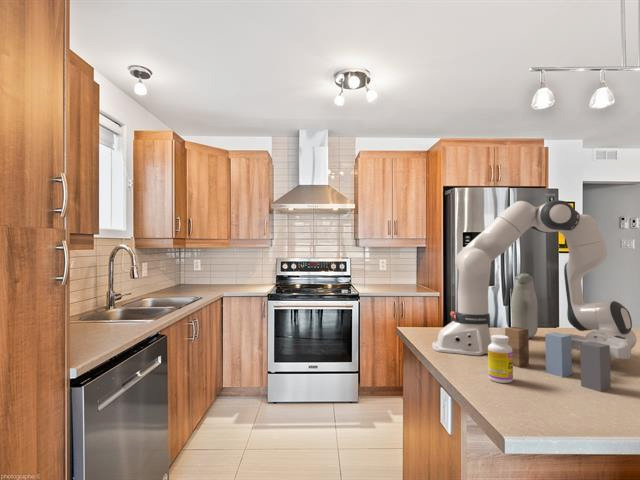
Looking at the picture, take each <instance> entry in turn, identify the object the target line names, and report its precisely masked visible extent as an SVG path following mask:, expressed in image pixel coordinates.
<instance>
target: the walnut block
mask: <svg viewBox="0 0 640 480" xmlns="http://www.w3.org/2000/svg"><path fill="white" fill-rule="evenodd" d="M504 336H507V337H509V341H508V345H509V346H511V347H512V352H513V367H515V368H518V369H519V368H524V367H528V366H530V347H529V345H530V343H529V342H530V341H529V340H530V338H529V336H528V329H524V328H519V327H512V326H511V327H509V326H508V327H505V328H504Z"/></svg>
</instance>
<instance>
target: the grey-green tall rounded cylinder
mask: <svg viewBox="0 0 640 480" xmlns="http://www.w3.org/2000/svg"><path fill="white" fill-rule="evenodd" d="M513 282H514V283H513V289H512V293H511V299H510V311H511V312H510V315H511V317H510V318H511V327H519V328H524V329H528V336H529V339H530V338H533V337H534V336H536V334H537V332H538V329H539V328H538V326H539V321H538V320H539V319H538V318H539V316H538V315H539V314H538V313H539V311H538V310H539V309H538V308H539V306H538V305H539V304H538V297H537V293H536V289H535V283H534V278H533V277H532V276H531V274H529V273H518V274H516V276H515V277H514V280H513Z"/></svg>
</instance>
